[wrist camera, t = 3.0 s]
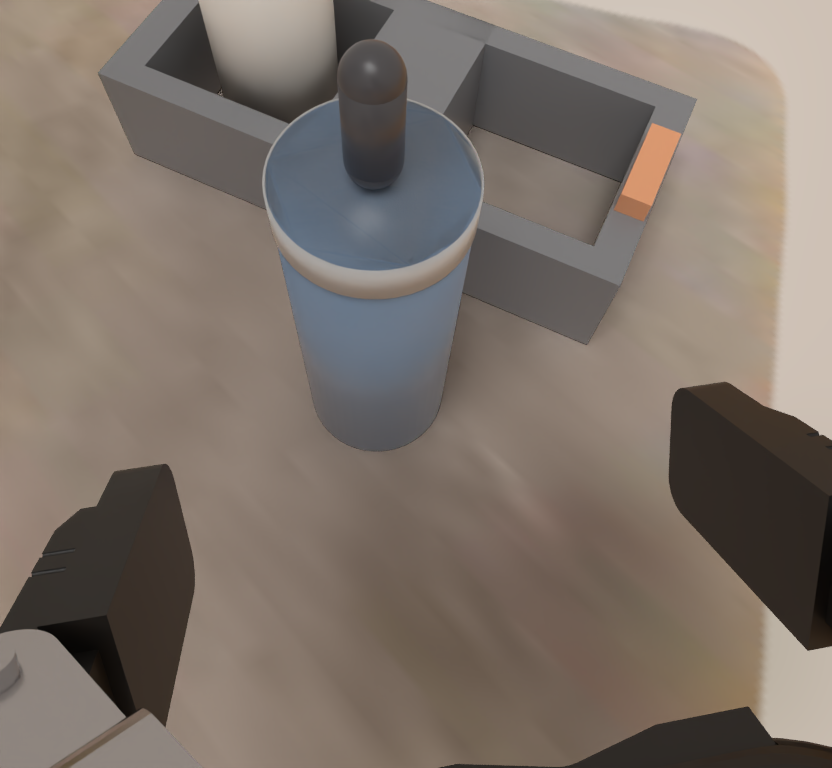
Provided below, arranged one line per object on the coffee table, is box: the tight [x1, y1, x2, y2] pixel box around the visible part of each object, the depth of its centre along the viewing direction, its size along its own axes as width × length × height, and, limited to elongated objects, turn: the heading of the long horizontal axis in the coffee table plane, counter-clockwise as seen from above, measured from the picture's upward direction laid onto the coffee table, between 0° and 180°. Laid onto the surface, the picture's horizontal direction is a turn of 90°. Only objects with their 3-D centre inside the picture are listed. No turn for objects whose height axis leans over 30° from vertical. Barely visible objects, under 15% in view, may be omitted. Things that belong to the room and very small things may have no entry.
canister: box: [262, 39, 484, 451], centre depth 18 cm, size 4×4×14 cm
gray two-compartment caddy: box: [98, 0, 697, 345], centre depth 22 cm, size 19×8×14 cm, turn 65°
